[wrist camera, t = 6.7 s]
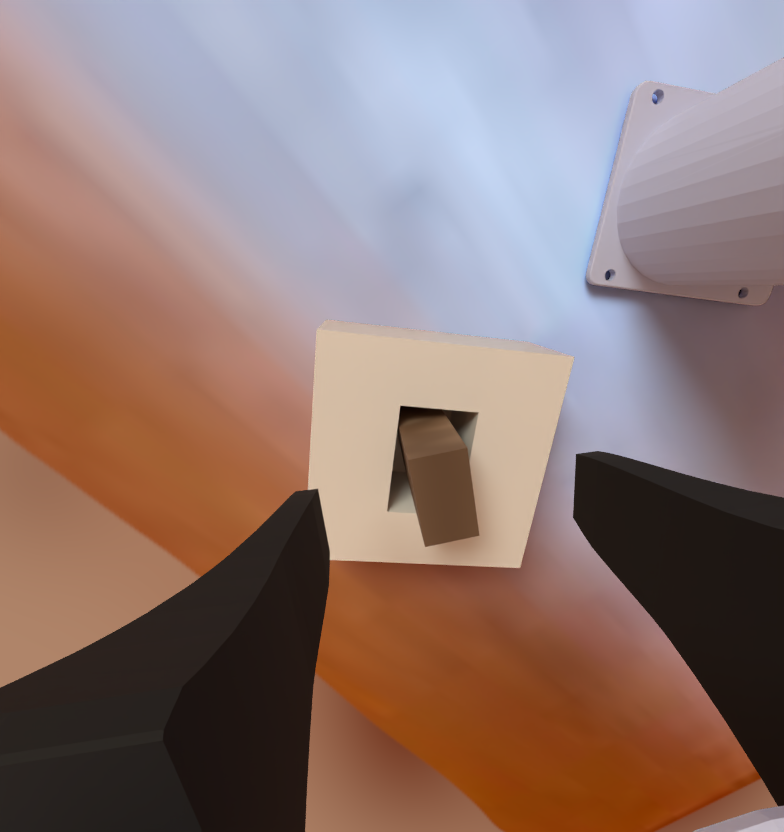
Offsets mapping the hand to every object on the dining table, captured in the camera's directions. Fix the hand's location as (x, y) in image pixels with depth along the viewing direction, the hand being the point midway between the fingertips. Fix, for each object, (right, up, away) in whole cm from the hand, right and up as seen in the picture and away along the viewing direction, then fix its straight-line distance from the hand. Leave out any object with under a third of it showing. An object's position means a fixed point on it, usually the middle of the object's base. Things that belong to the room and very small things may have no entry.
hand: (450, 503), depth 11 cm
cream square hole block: (0, +2, +10) cm, 10 cm away
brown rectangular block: (0, +2, +9) cm, 9 cm away
